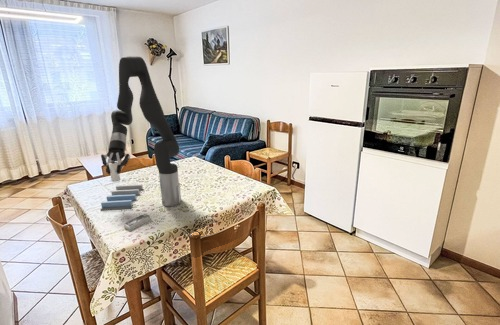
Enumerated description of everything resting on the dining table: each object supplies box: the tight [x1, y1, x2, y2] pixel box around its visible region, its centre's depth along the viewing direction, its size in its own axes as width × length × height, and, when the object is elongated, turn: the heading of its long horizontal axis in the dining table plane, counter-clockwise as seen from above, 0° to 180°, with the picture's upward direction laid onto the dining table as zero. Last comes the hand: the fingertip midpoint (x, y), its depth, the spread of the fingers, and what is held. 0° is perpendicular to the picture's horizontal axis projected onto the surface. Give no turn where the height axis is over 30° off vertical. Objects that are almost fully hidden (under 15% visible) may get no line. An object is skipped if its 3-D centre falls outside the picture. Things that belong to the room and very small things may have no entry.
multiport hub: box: [123, 213, 152, 231], centre depth 120 cm, size 4×11×2 cm, turn 148°
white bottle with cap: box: [109, 160, 121, 183], centre depth 132 cm, size 4×4×10 cm
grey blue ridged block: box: [100, 183, 144, 212], centre depth 144 cm, size 14×26×4 cm, turn 7°
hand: (113, 173), depth 131 cm, fingers closed on white bottle with cap, 4 cm apart
